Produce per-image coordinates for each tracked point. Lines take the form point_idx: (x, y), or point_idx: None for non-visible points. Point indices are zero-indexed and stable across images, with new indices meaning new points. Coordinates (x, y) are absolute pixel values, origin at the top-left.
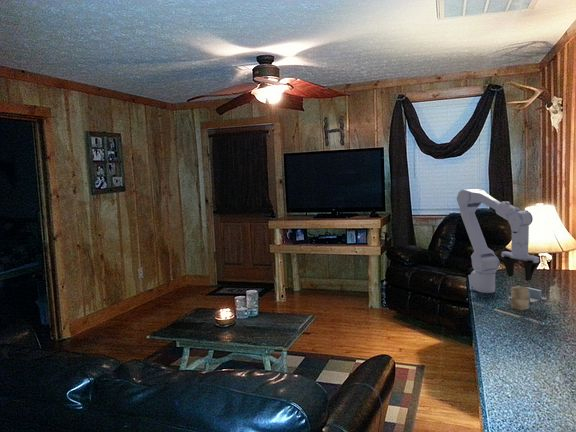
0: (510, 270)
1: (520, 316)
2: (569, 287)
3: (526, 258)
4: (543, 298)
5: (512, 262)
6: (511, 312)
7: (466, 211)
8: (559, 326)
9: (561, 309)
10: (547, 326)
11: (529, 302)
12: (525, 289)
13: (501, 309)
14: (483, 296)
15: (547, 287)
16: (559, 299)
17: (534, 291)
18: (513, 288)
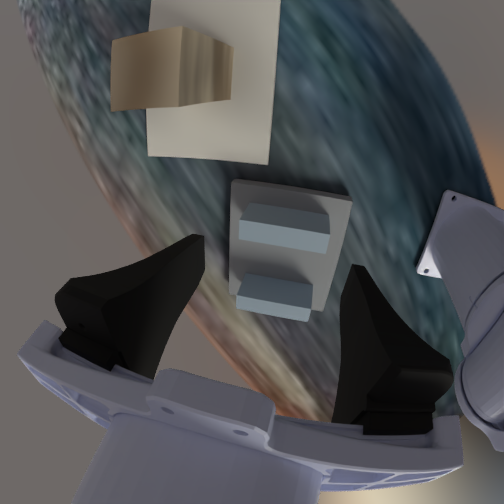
0: (353, 312)
1: (151, 8)
2: (277, 410)
3: (76, 365)
4: (236, 284)
5: (345, 389)
6: (201, 12)
7: None
8: (60, 66)
9: (148, 226)
10: (73, 34)
11: (232, 190)
12: (113, 78)
13: (258, 9)
14: (456, 186)
15: (316, 397)
16: (226, 325)
17: (261, 294)
18: (167, 29)
